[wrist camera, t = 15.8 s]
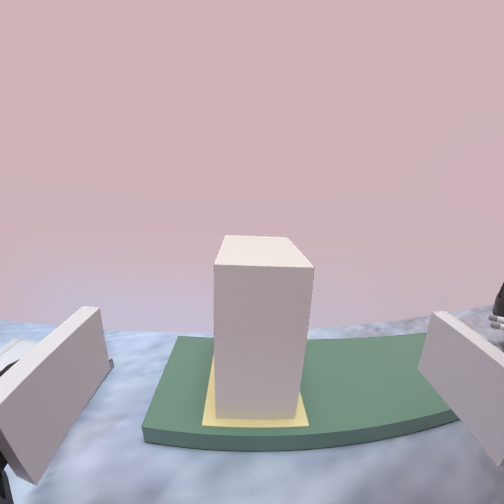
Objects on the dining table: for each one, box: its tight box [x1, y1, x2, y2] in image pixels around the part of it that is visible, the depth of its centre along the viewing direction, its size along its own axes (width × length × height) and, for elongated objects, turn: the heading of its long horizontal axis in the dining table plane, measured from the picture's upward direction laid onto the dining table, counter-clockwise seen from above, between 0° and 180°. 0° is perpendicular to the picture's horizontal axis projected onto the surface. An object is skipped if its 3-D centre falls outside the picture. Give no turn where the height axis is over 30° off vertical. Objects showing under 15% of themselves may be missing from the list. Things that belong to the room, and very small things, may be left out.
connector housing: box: [214, 235, 314, 420], centre depth 21 cm, size 5×10×10 cm, turn 1°
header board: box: [142, 333, 459, 451], centre depth 22 cm, size 30×13×6 cm, turn 92°
